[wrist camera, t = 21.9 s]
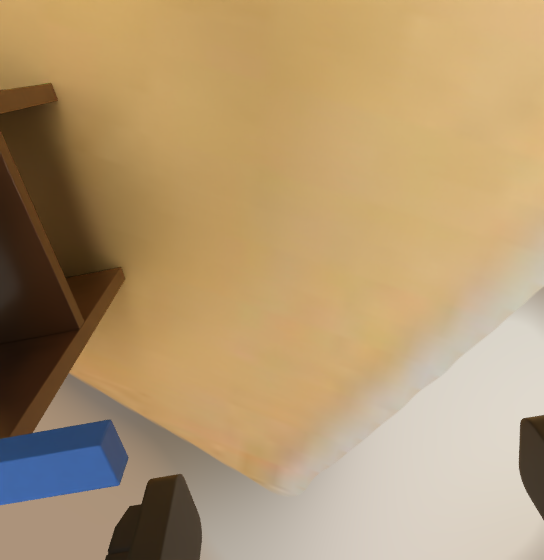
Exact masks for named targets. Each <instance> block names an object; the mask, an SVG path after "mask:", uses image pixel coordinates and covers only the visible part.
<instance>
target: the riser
mask: <svg viewBox="0 0 544 560" xmlns="http://www.w3.org/2000/svg"><path fill="white" fill-rule="evenodd" d="M54 101H58V100H57V97H56V94H55V92H54V89H53V87H52V84H51V83H49V84H42V85H35V86H28V87H21V88H14V89H7V90H0V114H2V113H6V112H11V111H15V110H19V109H24V108H28V107H32V106H37V105H41V104H45V103H50V102H54ZM124 280H125V277H124V274H123V272H122V269H121V267H119V268H114V269H109V270H104V271H99V272H94V273H89V274H83V275H78V276H73V277H68V278H65V276H64V274H63V272H62V269H61V267H60V265H59V263H58V260H57V258H56V256H55V254H54V251H53V249H52V247H51V244H50V242H49V240H48V238H47V235H46V233H45V231H44V229H43V226H42V224H41V222H40V219H39V217H38V215H37V213H36V210H35V208H34V206H33V204H32V201H31V199H30V197H29V195H28V192H27V190H26V188H25V185H24V183H23V181H22V179H21V176H20V174H19V172H18V170H17V167H16V165H15V163H14V160H13V158H12V156H11V154H10V151H9V149H8V147H7V145H6V142H5V140H4V138H3V135H2V133H1V131H0V439H2V438H8V437H13V436H19V435H25V434H30V433H33V431H34V430H35V428H36V426H37V425H38V423H39V421H40V420H41V418H42V416H43V415H44V413H45V411H46V410H47V408H48V406H49V405H50V403H51V401H52V400H53V398H54V397H55V395H56V393H57V392H58V390H59V388H60V386H61V385H62V383H63V382H64V380H65V378H66V377H67V375H68V373H69V372H70V370H71V368H72V367H73V365H74V363H75V362H76V360H77V358H78V357H79V355H80V353H81V352H82V350H83V348H84V347H85V345H86V343H87V342H88V340H89V338H90V337H91V335H92V333H93V332H94V330H95V329H96V327H97V325H98V324H99V322H100V320H101V319H102V317H103V315H104V314H105V312H106V310H107V309H108V307H109V305H110V304H111V302H112V300H113V299H114V297H115V295H116V294H117V292H118V290H119V289H120V287H121V285H122V284H123V282H124Z"/></svg>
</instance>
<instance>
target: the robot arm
mask: <svg viewBox="0 0 544 560" xmlns="http://www.w3.org/2000/svg"><path fill="white" fill-rule="evenodd" d="M520 424H521V425H520V447H519V448H520V449H519V470H520V475H521V479H522V482H523V484H524V487H525V489H526V491H527V493H528V495H529V496H530V498H531V500H532V502H533V503H534V505H535V506H536V508H537V510H538V511H539V513H540V515H541V516H542V518H543V520H544V415H542V416H535V417H529V418H523V419H522V420H521V423H520ZM201 543H202V530H201V522H200V517H199V514H198V511H197V509H196V506H195V504H194V501H193V499H192V496H191V494H190V491H189V489H188V486H187V484H186V481H185V479H184V477H183V476H182V474H178V475H171V476H166V477H159V478H153V479H150V480H149V481H148V483H147V486H146V490H145V494H144V497H143V501H142V504H141V505H134V506H130V507H129V508H128V510H127V511H126V512H125V514H124V515H123V517H122V518H121V520H120V521H119V523H118V524H117V526H116V527H115V530H114V533H113V536H112V539H111V542H110V546H109V549H108V555H107V556H106V559H105V560H199V559H200V551H201Z"/></svg>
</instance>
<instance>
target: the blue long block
mask: <svg viewBox="0 0 544 560" xmlns="http://www.w3.org/2000/svg"><path fill="white" fill-rule="evenodd" d="M127 461H128V455H127V454H126V451H125V449H124V447H123V445H122V442H121V440H120V438H119V436H118V434H117V432H116V429H115V427H114V425H113V423H112V421H111V420H104V421H99V422H93V423H87V424H81V425H76V426H70V427H64V428H59V429H53V430H48V431H42V432H36V433H30V434H25V435H19V436H13V437H8V438H2V439H0V505H4V504H10V503H16V502H22V501H28V500H34V499H40V498H46V497H52V496H58V495H64V494H71V493H77V492H83V491H89V490H95V489H101V488H106V487H112V486H118V485H120V482H121V479H122V476H123V472H124V470H125V467H126V464H127Z"/></svg>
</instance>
